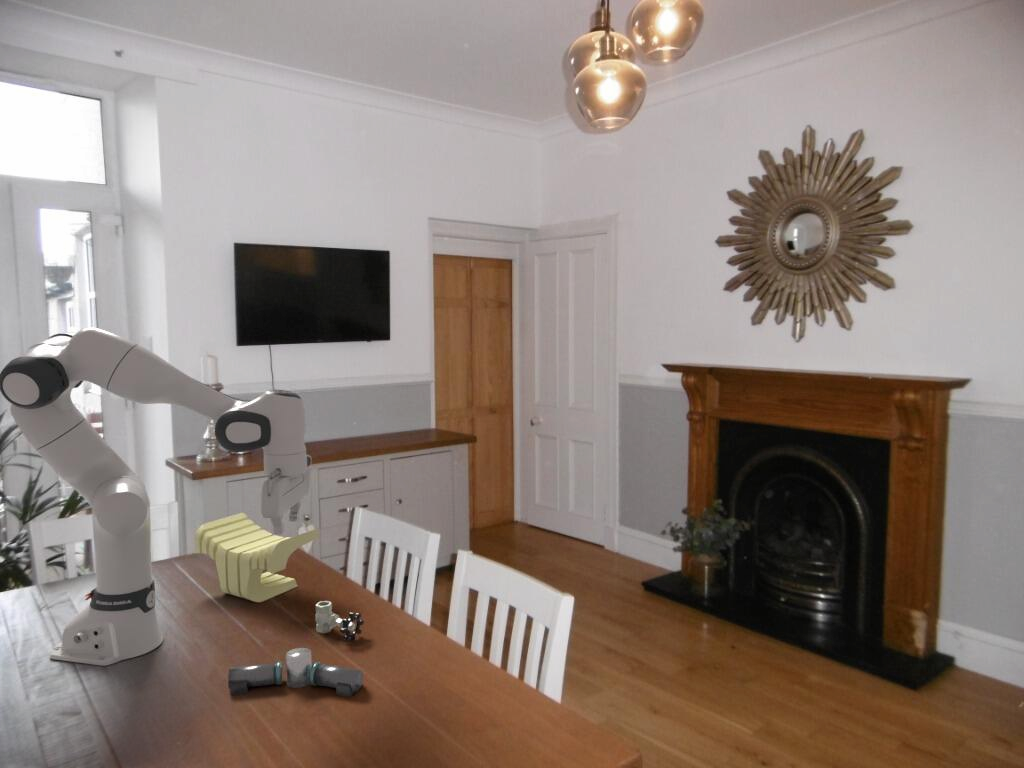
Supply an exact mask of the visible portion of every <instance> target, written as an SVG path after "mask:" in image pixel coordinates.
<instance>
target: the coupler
mask: <svg viewBox="0 0 1024 768" xmlns="http://www.w3.org/2000/svg"><path fill="white" fill-rule="evenodd" d="M312 665H313V663H312V650H311V649H309V648H306V647H298V648H297V647H296V648H293V649H290V650H289V651H287V652H286V654H285V668H286V669H285V670H286V671H285V672H286V673H285V674H286V685H287V686H288V687H290V688H295V689H296V688H298V689H299V688H303V687H306V686H308V685H310V683H309V680H308V676H309V671H310V668H311V666H312Z"/></svg>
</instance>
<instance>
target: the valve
mask: <svg viewBox="0 0 1024 768" xmlns="http://www.w3.org/2000/svg"><path fill="white" fill-rule="evenodd" d="M332 610H333V602H331V601H329V600H323V601H322V600H320V601H319V602H317V603H316V604H315V612H316V613H315V616H314V618H315V619H314V620H315V623H316V625H315V627H316V632H317V633H320V634H325V633H326V634H327V633H331V632H332V630H333V628H335V627H339V628H340V627H341V628H340V630H339V633H340V634H343V636H342V640H343V641H346V642H348V641H352V642H353V641H355V640H356V635H361V634H362V629H360V627H361V626H364V623H365V622H364V620H363V619H361V617H362V614H361V613H359V612H356V613H354V612H352V611H350V612H349V613H348V616H349V618H348V619H347V618H340V615H339V614H336V613H335V612H333V611H332ZM354 622H356V623H354ZM351 631H353V632H351ZM344 635H345V636H344Z"/></svg>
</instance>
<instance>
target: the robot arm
mask: <svg viewBox="0 0 1024 768" xmlns="http://www.w3.org/2000/svg"><path fill="white" fill-rule="evenodd" d="M83 382H89V383H92V384H94V385H96V386H98V387H100V388H101V389H103V390H105V391H107V392H109V393H111V394H114V395H115V396H118V397H120V398H122V399H125V400H127V401H131V402H134V403H138V404H141V405H142V404H143V405H154V404H155V405H156V404H167V405H176V406H181V407H183V408H186V409H188V410H190V411H193V412H195V413H197V414H199V415H201V416H203V417H205V418H206V419H207V418H208V419H209V420H212V421H214V422H216V423H215V426H214V436H215V439H216V441H217V442H218V444H219V445H220V447H222V448H223V449H225V450H227V451H229V452H231V453H246V452H249V451H253V450H258V449H262V450H263V451H262V452H263V473H264V475H266V476H267V477H268V478H267V479H266V480H264V481H263V484H262V487H261V499H260V500H261V502H260V504H261V505H260V506H261V507H260V513H261V516H262V518H264V519H270V521H271V524H272V526H273V535H282V534H283V533H284V532H285V524H284V523H283V518H284V514H285V513H287V512H288V511H289V512H290V513H289V514H288V521H290V522H294V523H295V522H297V521H298V520H299V519H300V510H301V505H302V500H303V499H304V498H305V497H307V496H308V494H309V490H310V479H311V478H310V477H311V475H310V474H311V473H310V472H311V471H310V470H311V469H310V466H311V465H312V462H313V461H312V460H313V459H312V456H311V455H310V454H307V447H306V443H305V435H306V431H307V430H306V429H307V428H306V424H307V423H306V412H305V407H304V406H305V405H304V402H303V399H302V398H301V397H300V395H299V394H297V393H296V392H292V391H290V390H286V389H285V390H284V389H269V390H266V391H265V392H264V393H262V394H261V395H259V396H258V397H256V398H254V399H247V398H246V399H244V398H236V397H233V396H230V395H227V394H226V393H223V392H222V391H220V390H218V389H215V388H214V387H212V386H209V385H207V384H205V383H203V382H201V381H199V380H197V379H195V378H193V377H191V376H189V375H188V374H187V373H184V372H183V371H181V370H180V369H179V368H176V367H175V366H174V365H172V364H170V363H169V362H168V361H166V360H165V359H163V358H162V357H160V356H159V355H158V354H156V353H154V352H152V351H151V350H149V349H147V348H145V347H144V346H142V345H139V344H138V343H136V342H135V341H132V340H130V339H128V338H125V337H123V336H121V335H118V334H116V333H113V332H111V331H108V330H104V329H101V328H99V327H91V326H90V327H85V328H82V329H80V330H78V331H77V332H72V331H71V332H68V331H67V332H60V333H55V334H53V335H51V336H49V337H48V338H47V339H44V340H41V341H39V342H37V343H36V344H33V345H32V346H30V347H28V349H27V350H25V351H24V352H22V353H21V354H20V355H18V357H16V358H14V359H12V360H10V361H9V362H8V363H7V364H6V365H5V366H4V367H3V368H2V370H1V372H0V392H1V395H2V396H3V397H4V398H5V400H6V401H8V402H9V404H11V405H10V413H11V417H12V418H13V420H14V422H15V423H16V425H17V427H18V428H19V430H20V432H21V433H22V434H23V436H24V437H25V438H26V440H27V441H28V442H29V444H31V446H32V447H33V448H34V449H35V451H36V452H37V453H38V454H39V455H40V456H41V457H42V459H44V460H45V462H46V463H47V464H48V465H49V466H50V467H51V469H52V470H53V471H54V472H55V473H56V474H57V476H59V478H61V479H62V480H63V481H64V482H66V483H67V484H69V486H71V488H73V490H75V491H76V492H77V493H78V494H79V495H80V496H81V497H82V498H83V499H84V501H86V502H87V503H88V504H89V506H90V508H91V517H92V518H91V519H92V532H93V546H94V547H93V550H94V564H95V578H96V580H95V581H96V583H95V584H96V587H94V589H91V590H90V592H89V593H87V594H86V595H84V598H85V599H84V600H85V601H88V600H89V599H91V600H90V602H89V604H88V605H87V606H86V607H85V608H84V609H83V610H81V611H80V612H79V613H77V615H75V616H74V617H72V619H70V620H69V621H68V623H67V624H66V625H65V626H64V629H63V632H62V635H61V636H62V638H61V641H59V642H58V643H57V644H56V645H55V646H53V648H52V649H51V651H50V654H49V659H51V660H57V661H65V662H71V663H79V664H80V663H81V664H87V665H95V666H100V667H102V666H103V667H104V666H110V665H113V664H116V663H118V662H121V661H124V660H128V659H132V658H135V657H139V656H142V655H145V654H147V653H149V652H151V651H154V650H155V649H156V648H157V647H159V646H160V645H161V644H162V643H163V642H164V636H163V634H162V631H161V629H160V626H159V625H160V624H159V621H158V617H157V613H156V612H157V611H156V586H155V584H156V583H155V580H154V579H153V572H152V571H153V569H152V552H151V551H152V550H151V547H152V544H151V542H152V540H151V538H152V535H151V534H152V533H151V529H152V528H151V527H152V526H151V502H150V499H149V496H148V493H147V490H146V487H145V484H144V483H143V481H142V480H141V479H140V477H139V476H138V475H137V474H136V472H134V471H133V470H132V469H131V467H130V466H129V464H127V463H126V461H124V460H123V459H122V458H121V456H119V455H118V454H117V453H116V451H115V450H113V448H111V446H110V445H109V444H108V443H107V442H106V440H104V438H103V437H102V436H101V435H100V434H99V432H98V431H97V430H96V429H95V428H94V427H93V425H92V424H91V423H90V421H89V420H88V419H87V418H86V417H85V416H84V415H83V414H82V412H81V411H80V410H79V409H78V408H77V406H75V403H73V401H72V398H71V394H72V391H73V389H78V388H79V387H80V386H81V385H82V384H83Z"/></svg>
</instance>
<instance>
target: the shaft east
mask: <svg viewBox="0 0 1024 768" xmlns="http://www.w3.org/2000/svg"><path fill="white" fill-rule="evenodd" d="M308 680H309V683H310V684H309V685H311V686H314V687H317V686H322V687H328V688H332V689H333V688H335V691H336V692H335V693H336V696H342V697H346V698H351V697H352V696H353V695H354V694H355V693H357V692H358V691H359V690H361V687H362V686H363V681H364V673H363V670H361V669H355V668H350V667H345V666H344V667H343V666H337V665H332V664H331V665H330V664H325V663H323V662H320V661H316V662H314V663H312V666H311V668H310V671H309V676H308Z"/></svg>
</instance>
